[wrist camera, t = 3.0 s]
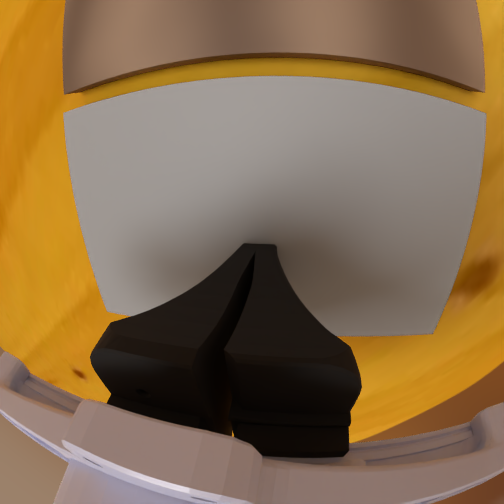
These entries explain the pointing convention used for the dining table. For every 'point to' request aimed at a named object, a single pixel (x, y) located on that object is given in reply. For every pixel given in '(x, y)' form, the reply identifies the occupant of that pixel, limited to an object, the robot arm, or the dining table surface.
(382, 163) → the grey plank
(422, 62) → the walnut board
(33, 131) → the dining table surface
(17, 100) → the dining table surface
